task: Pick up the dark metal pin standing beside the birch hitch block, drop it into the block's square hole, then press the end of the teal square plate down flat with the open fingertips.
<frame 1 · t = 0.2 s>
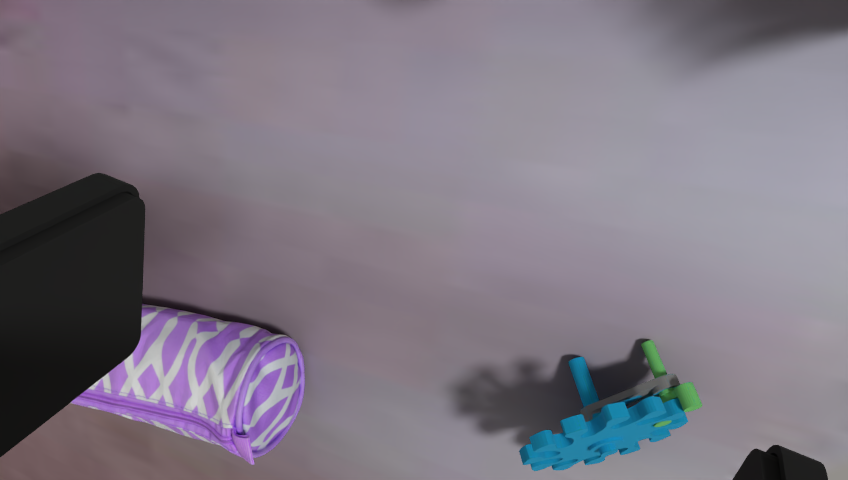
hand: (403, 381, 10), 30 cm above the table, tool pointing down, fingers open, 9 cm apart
gear: (617, 392, 45), on the table
pencil case: (195, 336, 56), on the table
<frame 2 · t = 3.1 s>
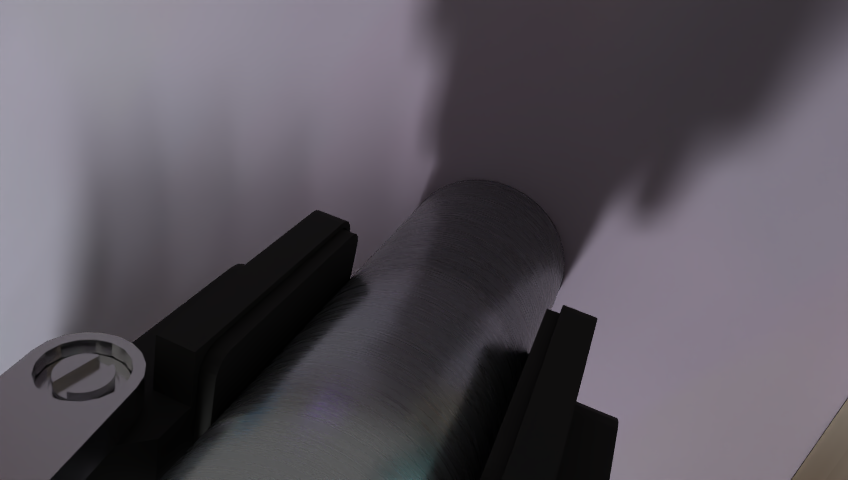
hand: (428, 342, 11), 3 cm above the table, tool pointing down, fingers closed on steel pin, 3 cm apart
steel pin: (483, 256, 14), on the table, touching gripper
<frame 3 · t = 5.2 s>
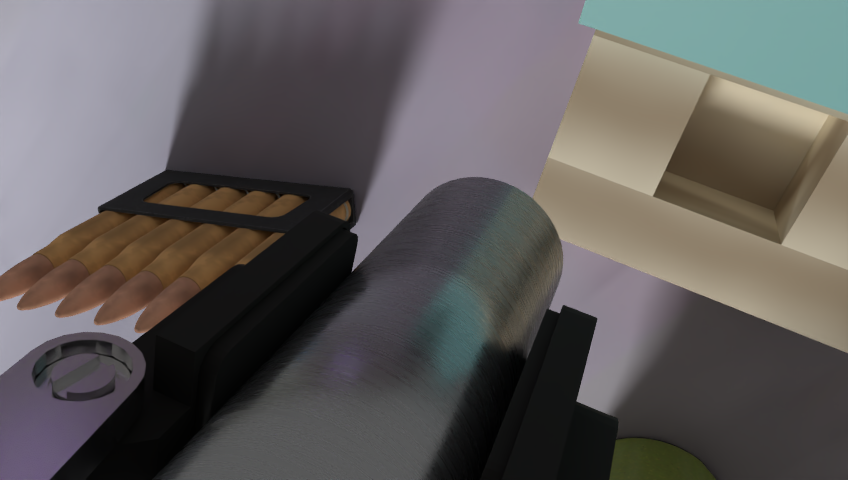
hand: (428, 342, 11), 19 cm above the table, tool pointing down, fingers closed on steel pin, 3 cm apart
hitch block: (796, 21, 24), on the table
ammunition clip: (259, 195, 35), on the table
steel pin: (481, 253, 14), point 16 cm above the table, touching gripper
when the fingers open (6 cm above the table, at t = 7.6 s): steel pin drops 1 cm, resting on hitch block.
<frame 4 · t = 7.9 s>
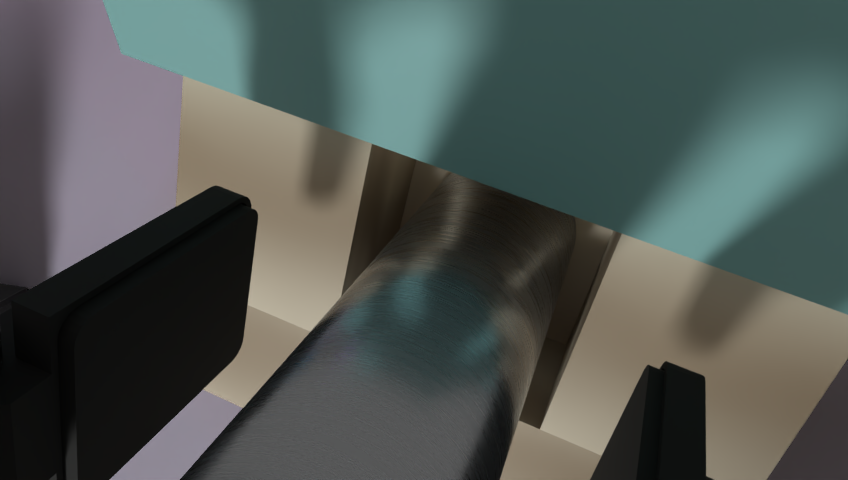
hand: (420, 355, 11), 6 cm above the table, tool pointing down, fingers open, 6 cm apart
hitch block: (567, 37, 14), on the table
steel pin: (500, 227, 15), point 1 cm above the table, touching hitch block
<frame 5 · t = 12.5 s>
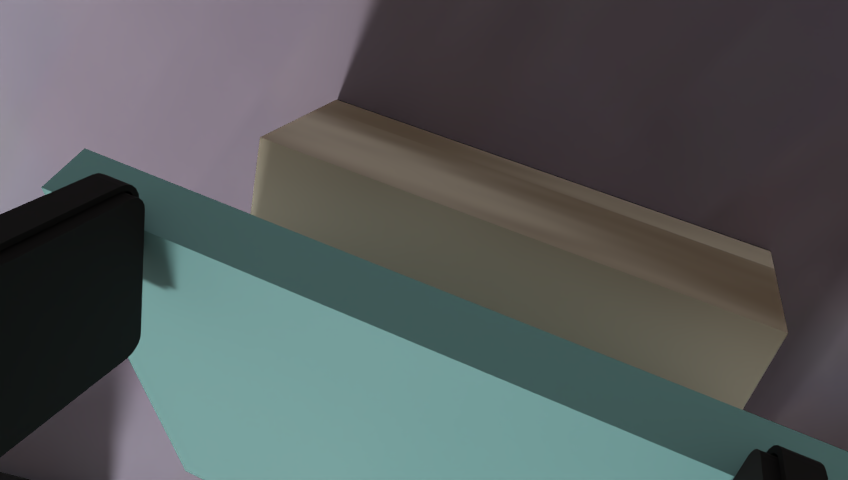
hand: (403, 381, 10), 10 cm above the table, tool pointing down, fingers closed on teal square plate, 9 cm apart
hitch block: (455, 420, 23), on the table
teal square plate: (407, 471, 15), point 7 cm above the table, hinge at 23.3°, touching gripper
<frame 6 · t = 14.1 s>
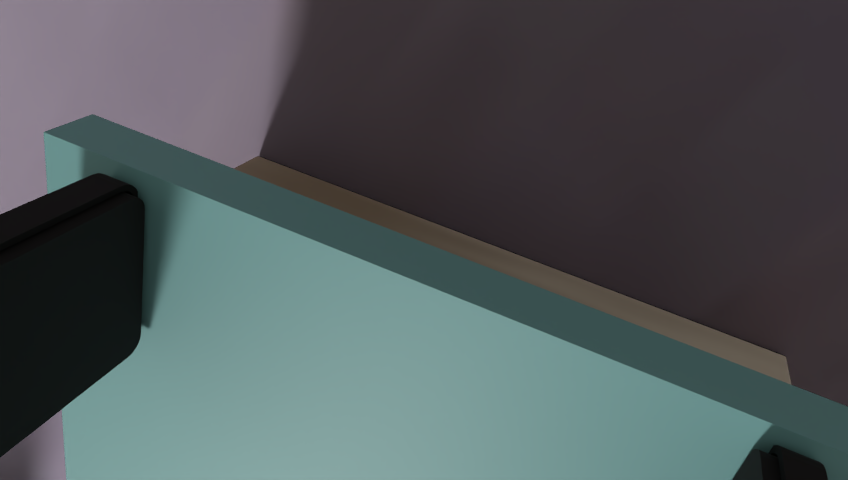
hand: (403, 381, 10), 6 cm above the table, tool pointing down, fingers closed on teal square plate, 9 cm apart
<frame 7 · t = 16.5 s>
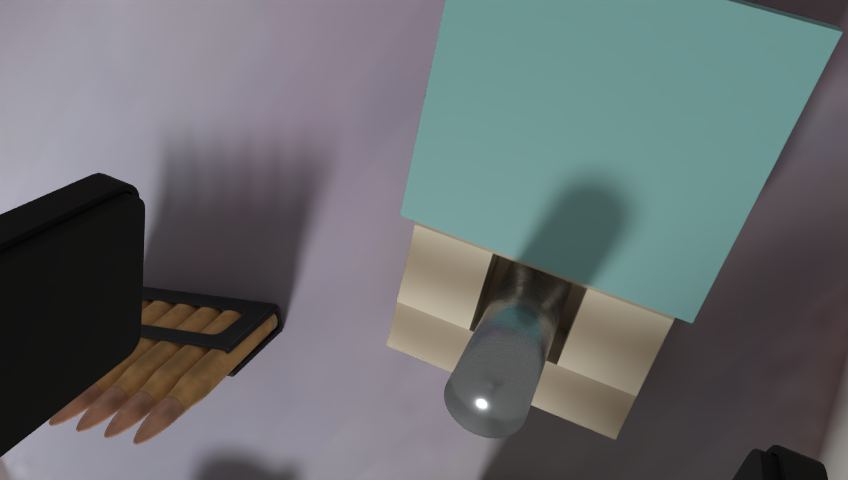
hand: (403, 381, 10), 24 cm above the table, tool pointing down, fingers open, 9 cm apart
hitch block: (567, 202, 34), on the table
ammunition clip: (210, 305, 45), on the table
teal square plate: (586, 134, 27), point 5 cm above the table, hinge at 1.9°
steel pin: (538, 279, 35), point 1 cm above the table, touching hitch block
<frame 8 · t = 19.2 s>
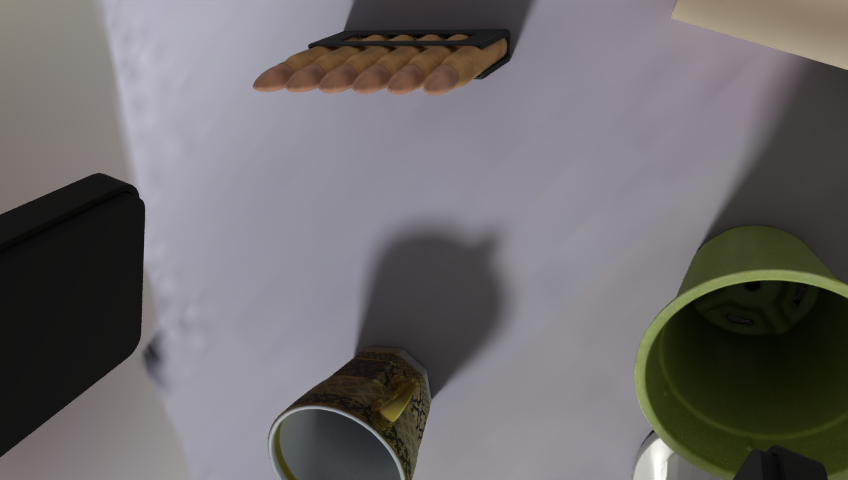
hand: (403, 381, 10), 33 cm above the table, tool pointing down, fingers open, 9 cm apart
ammunition clip: (424, 45, 43), on the table
plant pot: (753, 276, 42), on the table
ceramic cup: (403, 369, 54), on the table
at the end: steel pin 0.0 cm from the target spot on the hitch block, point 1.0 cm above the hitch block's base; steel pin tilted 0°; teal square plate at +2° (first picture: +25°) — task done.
